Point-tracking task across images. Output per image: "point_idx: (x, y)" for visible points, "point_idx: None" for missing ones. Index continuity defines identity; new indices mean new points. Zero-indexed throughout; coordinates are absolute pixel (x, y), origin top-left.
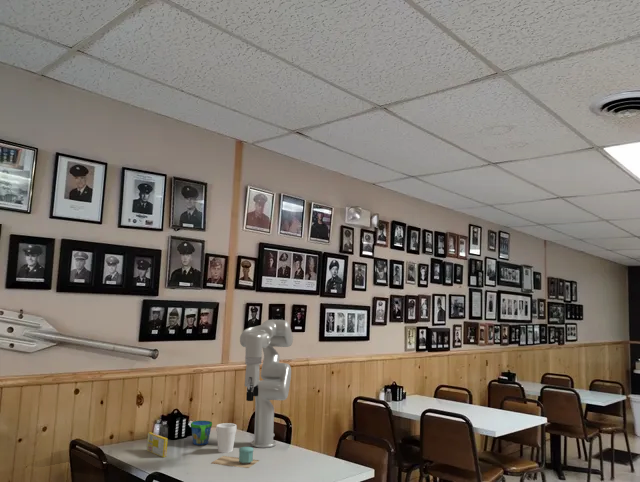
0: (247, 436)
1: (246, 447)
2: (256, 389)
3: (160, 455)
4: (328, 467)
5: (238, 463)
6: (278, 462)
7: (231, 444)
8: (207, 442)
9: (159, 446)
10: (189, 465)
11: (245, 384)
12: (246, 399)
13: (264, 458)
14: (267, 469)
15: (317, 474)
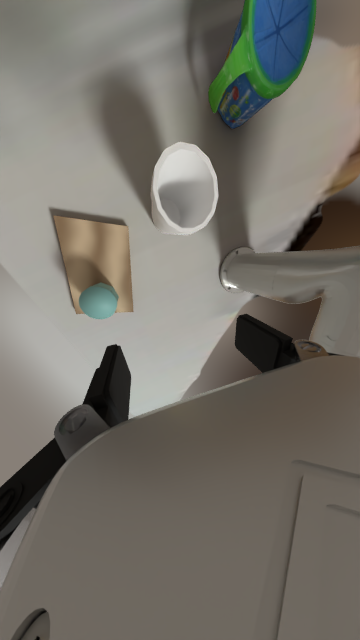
0: (285, 219)
1: (108, 299)
2: (263, 364)
3: None
4: (157, 388)
5: (92, 284)
6: (153, 332)
7: (165, 231)
8: (232, 126)
9: None
10: (29, 142)
11: (31, 528)
12: (107, 349)
13: (165, 304)
14: (110, 333)
15: None
